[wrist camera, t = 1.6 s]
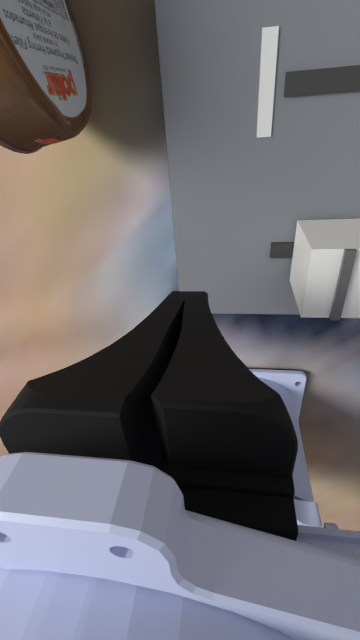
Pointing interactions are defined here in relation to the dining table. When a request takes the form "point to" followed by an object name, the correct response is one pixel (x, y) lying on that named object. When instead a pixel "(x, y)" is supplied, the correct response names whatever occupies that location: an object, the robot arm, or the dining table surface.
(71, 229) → the dining table surface
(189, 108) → the fader board
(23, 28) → the tin
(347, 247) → the pale fader
